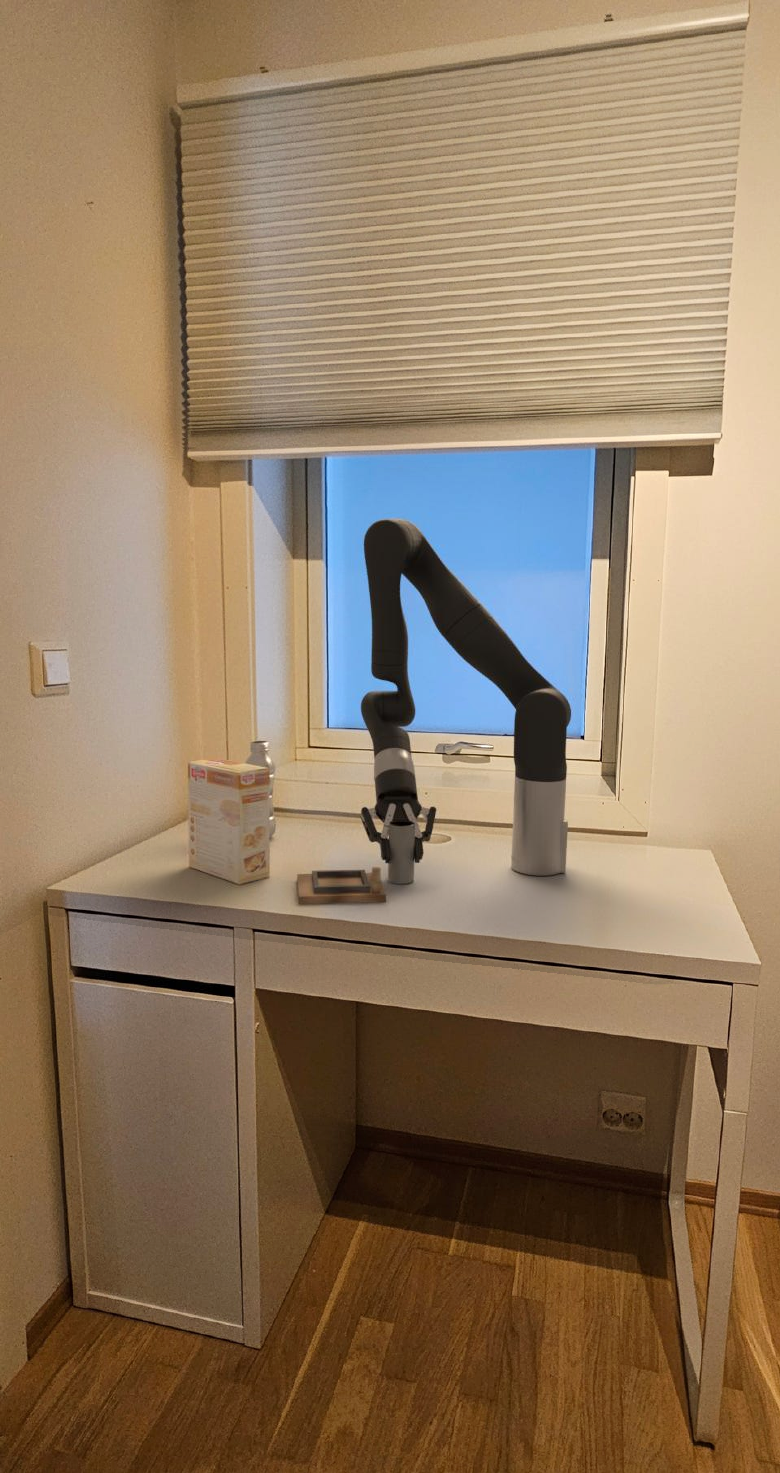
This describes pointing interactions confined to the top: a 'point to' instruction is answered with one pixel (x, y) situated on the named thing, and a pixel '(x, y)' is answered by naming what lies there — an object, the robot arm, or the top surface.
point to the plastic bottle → (264, 760)
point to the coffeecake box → (229, 819)
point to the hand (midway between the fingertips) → (403, 860)
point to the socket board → (341, 886)
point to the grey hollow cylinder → (401, 851)
